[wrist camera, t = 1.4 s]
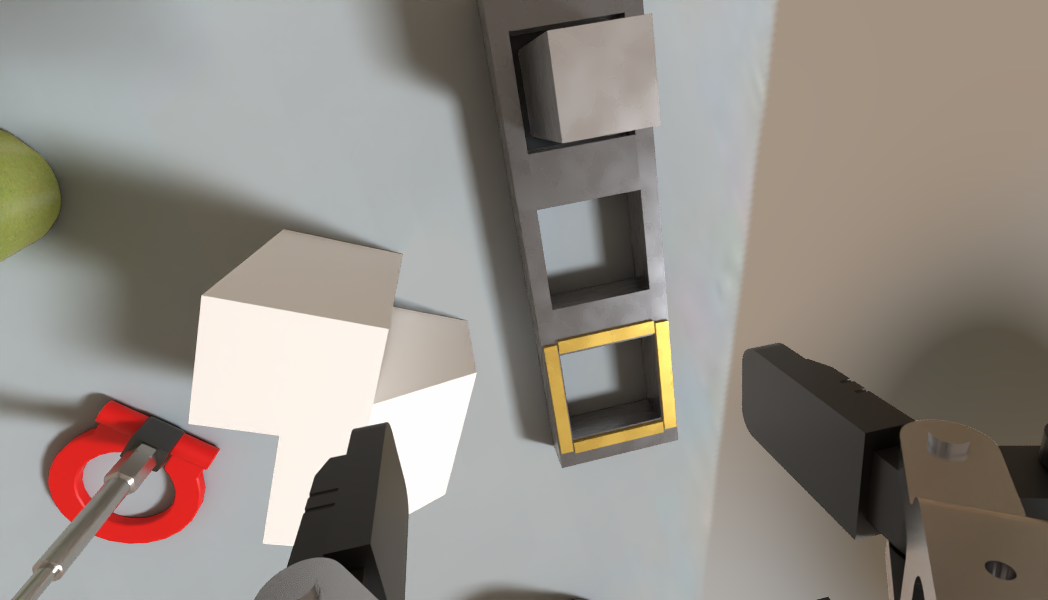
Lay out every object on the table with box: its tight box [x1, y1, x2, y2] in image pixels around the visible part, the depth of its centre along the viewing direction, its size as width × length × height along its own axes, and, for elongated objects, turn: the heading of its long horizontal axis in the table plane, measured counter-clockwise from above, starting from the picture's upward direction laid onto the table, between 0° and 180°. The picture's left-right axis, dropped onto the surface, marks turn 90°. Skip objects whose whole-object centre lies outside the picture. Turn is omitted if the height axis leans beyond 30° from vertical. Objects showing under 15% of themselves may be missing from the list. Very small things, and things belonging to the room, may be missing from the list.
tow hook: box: [11, 400, 219, 600], centre depth 29 cm, size 8×13×9 cm
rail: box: [477, 0, 678, 468], centre depth 33 cm, size 28×8×3 cm, turn 9°
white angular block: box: [188, 229, 477, 546], centre depth 28 cm, size 11×11×12 cm
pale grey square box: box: [518, 13, 661, 143], centre depth 27 cm, size 4×4×8 cm
